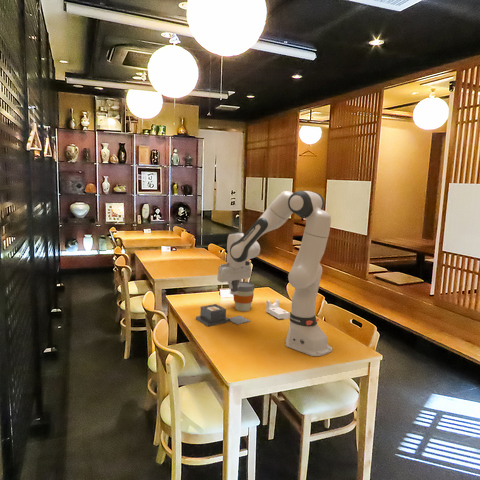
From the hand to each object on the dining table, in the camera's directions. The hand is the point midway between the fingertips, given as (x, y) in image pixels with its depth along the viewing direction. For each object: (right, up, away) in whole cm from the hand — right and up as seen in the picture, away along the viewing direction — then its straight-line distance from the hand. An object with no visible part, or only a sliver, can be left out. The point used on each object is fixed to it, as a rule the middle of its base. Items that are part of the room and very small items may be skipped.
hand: (234, 288), depth 204 cm
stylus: (0, -3, 0) cm, 3 cm away
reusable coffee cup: (+5, -15, +23) cm, 28 cm away
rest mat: (+2, -18, +4) cm, 18 cm away
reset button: (-11, -16, +1) cm, 20 cm away
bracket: (+24, -18, +15) cm, 34 cm away
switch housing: (-11, -18, +2) cm, 21 cm away
